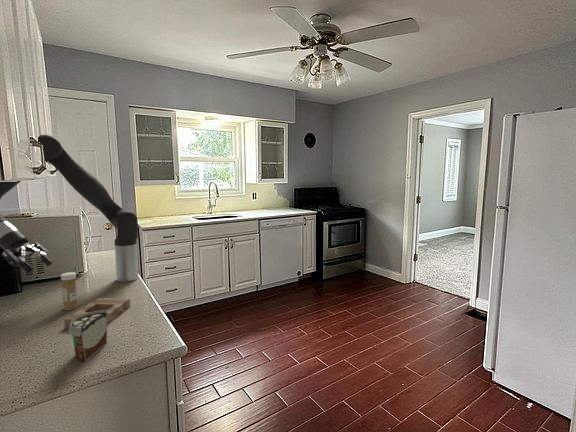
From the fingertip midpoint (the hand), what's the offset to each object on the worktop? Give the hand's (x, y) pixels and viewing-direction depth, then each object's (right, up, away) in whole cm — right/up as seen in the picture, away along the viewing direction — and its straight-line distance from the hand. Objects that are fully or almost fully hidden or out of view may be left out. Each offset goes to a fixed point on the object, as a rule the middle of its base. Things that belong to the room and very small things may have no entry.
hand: (41, 267), depth 115 cm
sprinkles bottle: (+10, -16, +2) cm, 19 cm away
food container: (+34, -20, -27) cm, 48 cm away
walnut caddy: (+25, -17, -5) cm, 30 cm away
